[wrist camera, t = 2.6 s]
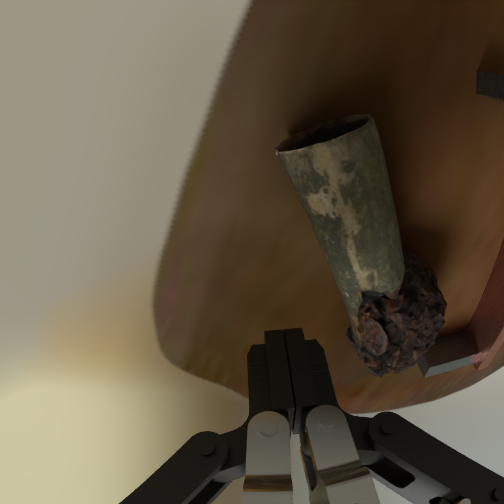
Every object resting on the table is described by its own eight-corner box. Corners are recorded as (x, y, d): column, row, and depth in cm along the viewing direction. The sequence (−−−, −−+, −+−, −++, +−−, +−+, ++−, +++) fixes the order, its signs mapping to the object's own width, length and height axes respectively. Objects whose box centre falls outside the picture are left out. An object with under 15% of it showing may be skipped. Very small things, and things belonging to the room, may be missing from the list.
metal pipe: (269, 139, 15) (284, 168, 10) (383, 98, 14) (442, 112, 9) (350, 348, 24) (368, 403, 19) (422, 317, 22) (451, 366, 18)
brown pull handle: (539, 96, 12) (576, 109, 8) (470, 338, 25) (486, 367, 21) (477, 70, 12) (521, 78, 9) (412, 353, 25) (427, 386, 21)
